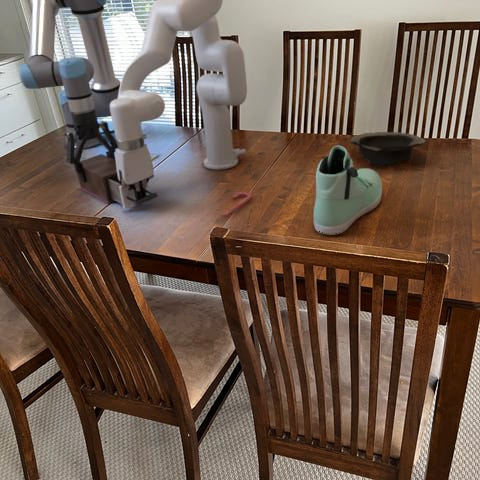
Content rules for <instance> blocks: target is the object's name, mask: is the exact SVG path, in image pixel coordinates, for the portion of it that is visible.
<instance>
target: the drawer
mask: <svg viewBox="0 0 480 480" xmlns="http://www.w3.org/2000/svg"><path fill="white" fill-rule="evenodd" d="M105 180H106V184H107V188H108V192H109V197H110V198H111V199H113V200H115V202H117V203H118V204H120V205H122V208H123V209H124V210H127V209H130V208H132V207H135V206H136V207H137V206H140V205H142V204H144V203H147V202H149V201H151V200H153V199H156V198H157V197H158V192H156V191H153V192H152V191H150V190H149V186H148V184H147V187H146V189H145V190H146V196H144V197H142V198H139V199H137V200H136V198H135V193H134V189H132V188H127V189H124V188H122V186H121V185H122V181H119V179H118V175H114V176H112V177H109V178H107V179H105Z"/></svg>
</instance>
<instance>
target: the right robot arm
mask: <svg viewBox="0 0 480 480" xmlns="http://www.w3.org/2000/svg"><path fill="white" fill-rule="evenodd" d="M223 2H224V0H155V1H154V2H153V3H152V5H151V7H150V11H149V15H148V19H147V24H146V29H145V33H144V37H143V42H142V46H141V49H140V51H139V53H138V54H137V55H136V56H135V58H133V60H132V61H131V62H130V64H129V65H128V67H126V69H125V71H124V73H123V74H122V77H121V80H120V88H119V92H118V99H115V100H113V101H112V102H111V103H110V112H111V116H110V117H111V122H112V126H113V130H114V131H115V132H114V136H115V141H116V143H117V146H118V148H117V149H115V160H116V169H117V175H118V179H119V181H122V185H121V186H122V188H124V189H127V188H132V189H134V193H135V198H136V200H137V199H139V198H142V197H144V196H146V190H145V189H146V187H147V185H148V183H149V181H151V180H152V179H154V177H155V175H154V172H155V171H154V164H153V159H152V160H151V156H150V154H151V153H150V150H149V148H148V146H147V144H146V143H145V140H147V138H148V137H147V134H146V133H145V134H143V129H142V128H143V127H142V123H145V122H148V121H154V120H157V119H159V118H160V117H161V116H162V115H163V113H164V111H165V108H166V103H165V101H164V98H163V97H162V96H161V95H160V94H158V93H155V92H153V91H152V92H150V91H144V90H141V88H142V85H143V83H144V81H145V80H146V79H147V77H148V76H149V75H150V74H152V73H153V72H156V70H158V69H160V68H162V67H164V66H166V65H167V64H168V63H169V62H170V61H172V60H171V59H172V56H173V51H174V47H175V44H176V43H175V42H176V38H177V34H178V32H191V34H192V41H193V47H194V53H195V59H196V62H197V66H198V67H199V68H200V69H201V70H204V71H209V72H219V73H206V74H202V75H201V76H200V77H199V78H198V80H197V83H196V94H197V98H198V101H199V104H200V109H201V113H202V121H203V130H204V139H205V149H206V150H205V151H206V158H205V159H204V160H203V166H204V168H206V169H209V170H213V171H217V170H218V171H221V170H222V171H223V170H226V169H231V168H233V167H235V166H237V165H238V163H239V158H238V157H239V156H243V155H246V154H247V151H246V149H245V148H242V149H240V148H239V147H238V148H235V149H234V146H233V133H232V120H231V114H230V113H231V112H230V110H229V107H228V106H230V107H231V106H232V107H238V106H241V105H243V103H245V101H246V99H247V94H248V83H247V73H246V64H245V63H246V62H245V54H244V52H243V49H242V47H241V45H240V44H239V43H238V41H237V42H236V41H234V40H232V39H231V40H230V39H222V37H221V33H220V29H219V23H218V19H217V17H216V15H217V14H219V12H220V10H221V8H222V5H223Z"/></svg>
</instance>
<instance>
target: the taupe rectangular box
mask: <svg viewBox="0 0 480 480" xmlns="http://www.w3.org/2000/svg"><path fill="white" fill-rule="evenodd" d="M80 163H82V165H83V169H84V173H85V177H86V180H87V182H83V181H81V179H80V176H79V173H77V172H76V176H77V180H78V182H79V183H78V184H79V187H80V189H81V190H82V191H83V192H85V193H87V194H89V195H91V196H92V197H95V198H97V199H98V200H100V201H102V202H104V203H106V204H107V205H110V204H113V203H115V202H116V201H115V200H113V199H111V198H110V197H109V192H108V188H107V184H106V180H105V179H107V178H109V177H112V176H114V175H117V169H116V159H115V160H114V159H112V158H110V157H107V155H105V154H102V153H101V154H98V155H95V156H92V157H89V158H86V159H83V160H80Z"/></svg>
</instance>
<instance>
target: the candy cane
mask: <svg viewBox="0 0 480 480" xmlns="http://www.w3.org/2000/svg"><path fill="white" fill-rule="evenodd" d="M240 197H245V198H243V199H242V200H240V201H238V203H236V204H235V205H234V206H232V207H231V208H229V209H228V210H226V211H225V212H224V213H223V216H224V217H225V218H226V217H229V216H230V215H232V214H233V213H235V212H236V211H237V210H239V209H240V208H241V207H243V206H245V205H246V204H248V203H249V202H250V201H252V198H253V195H252V194H251V193H250V192H247V191H238V192H235V193H234V194H233V195H232V200H236V199H238V198H240Z"/></svg>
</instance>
